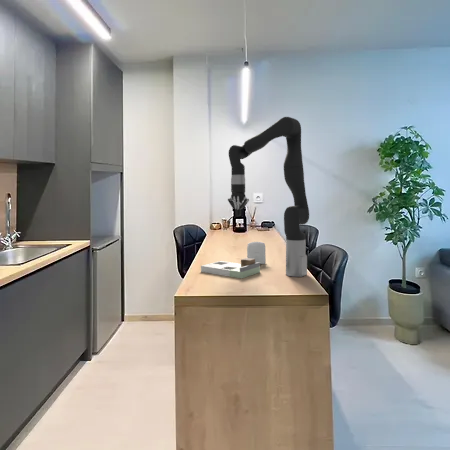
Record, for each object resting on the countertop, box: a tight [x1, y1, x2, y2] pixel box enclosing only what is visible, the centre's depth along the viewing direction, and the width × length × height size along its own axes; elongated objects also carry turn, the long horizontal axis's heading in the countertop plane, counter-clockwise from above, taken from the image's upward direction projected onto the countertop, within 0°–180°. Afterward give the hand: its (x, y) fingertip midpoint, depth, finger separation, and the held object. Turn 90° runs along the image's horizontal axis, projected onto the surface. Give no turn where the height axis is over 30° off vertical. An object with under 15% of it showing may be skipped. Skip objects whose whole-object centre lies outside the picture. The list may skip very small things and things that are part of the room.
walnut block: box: [240, 257, 255, 267], centre depth 186 cm, size 5×5×4 cm
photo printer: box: [246, 241, 267, 265], centre depth 209 cm, size 10×4×12 cm, turn 96°
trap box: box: [200, 260, 261, 279], centre depth 189 cm, size 25×16×5 cm, turn 53°
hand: (238, 216), depth 202 cm, fingers closed
